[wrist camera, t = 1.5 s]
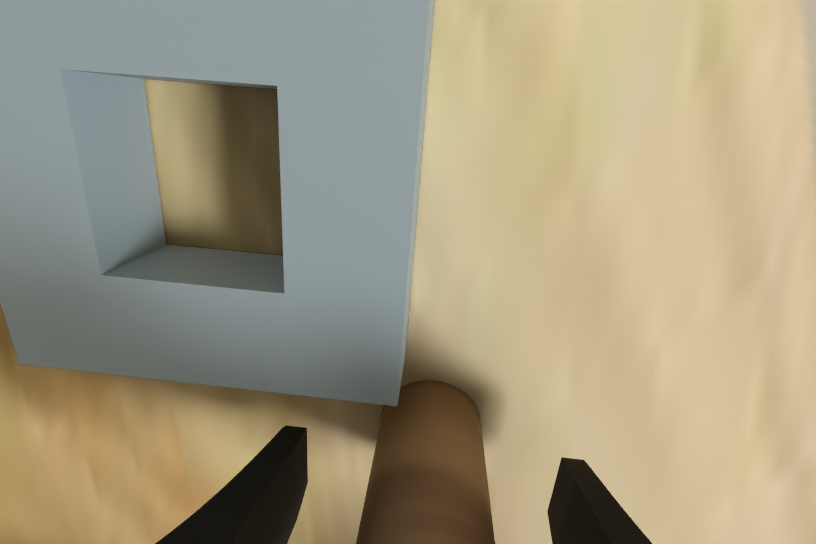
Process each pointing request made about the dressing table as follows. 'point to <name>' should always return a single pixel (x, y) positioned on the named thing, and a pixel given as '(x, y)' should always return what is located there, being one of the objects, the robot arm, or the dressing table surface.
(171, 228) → the dressing table surface
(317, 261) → the socket block
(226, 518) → the robot arm
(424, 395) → the peg
